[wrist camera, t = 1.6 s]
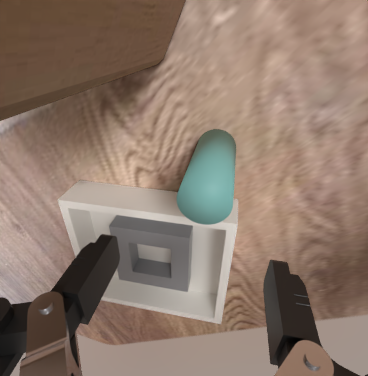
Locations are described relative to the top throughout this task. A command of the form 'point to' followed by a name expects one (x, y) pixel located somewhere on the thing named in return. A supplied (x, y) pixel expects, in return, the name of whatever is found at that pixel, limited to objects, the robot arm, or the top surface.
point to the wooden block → (76, 46)
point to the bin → (154, 248)
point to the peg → (209, 179)
